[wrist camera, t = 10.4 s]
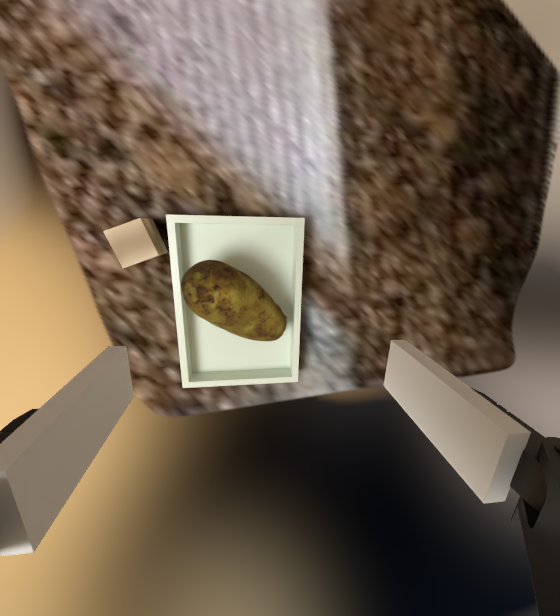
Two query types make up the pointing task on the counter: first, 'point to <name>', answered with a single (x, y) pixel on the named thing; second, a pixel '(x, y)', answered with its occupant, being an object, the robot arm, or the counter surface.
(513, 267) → the counter surface
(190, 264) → the tray
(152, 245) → the beech block
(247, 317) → the potato
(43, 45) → the counter surface
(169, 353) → the counter surface
